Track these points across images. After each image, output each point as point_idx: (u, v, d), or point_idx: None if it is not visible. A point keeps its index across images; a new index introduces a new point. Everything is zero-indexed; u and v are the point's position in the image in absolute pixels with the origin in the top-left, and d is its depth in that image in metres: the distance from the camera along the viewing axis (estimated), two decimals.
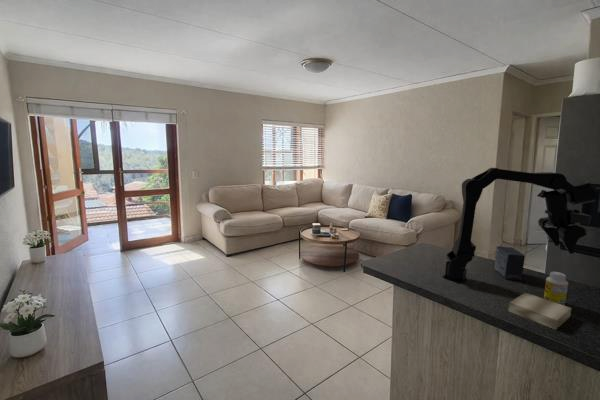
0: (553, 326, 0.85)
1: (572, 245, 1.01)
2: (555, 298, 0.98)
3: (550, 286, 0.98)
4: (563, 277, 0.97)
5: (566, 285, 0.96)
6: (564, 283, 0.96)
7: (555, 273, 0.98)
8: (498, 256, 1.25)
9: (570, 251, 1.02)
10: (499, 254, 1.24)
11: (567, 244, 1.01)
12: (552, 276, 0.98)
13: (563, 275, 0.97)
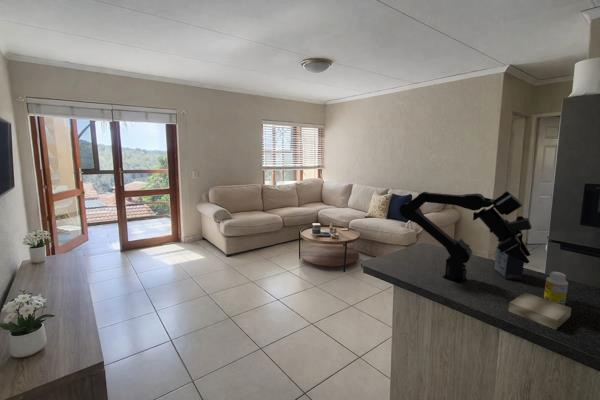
0: (553, 326, 0.85)
1: (521, 255, 1.00)
2: (555, 298, 0.98)
3: (550, 286, 0.98)
4: (563, 277, 0.97)
5: (566, 285, 0.96)
6: (564, 283, 0.96)
7: (555, 273, 0.98)
8: (498, 256, 1.25)
9: (524, 261, 1.00)
10: (499, 254, 1.24)
11: (515, 256, 1.00)
12: (552, 276, 0.98)
13: (563, 275, 0.97)
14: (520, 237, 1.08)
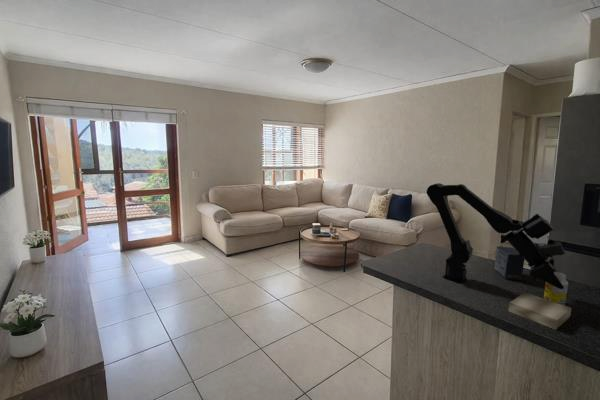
0: (553, 326, 0.85)
1: (554, 280, 0.96)
2: (555, 298, 0.98)
3: (550, 286, 0.98)
4: (563, 277, 0.97)
5: (566, 285, 0.96)
6: (564, 283, 0.96)
7: (555, 273, 0.98)
8: (498, 256, 1.25)
9: (558, 287, 0.96)
10: (499, 254, 1.24)
11: (548, 281, 0.97)
12: None
13: (563, 275, 0.97)
14: (551, 262, 1.02)
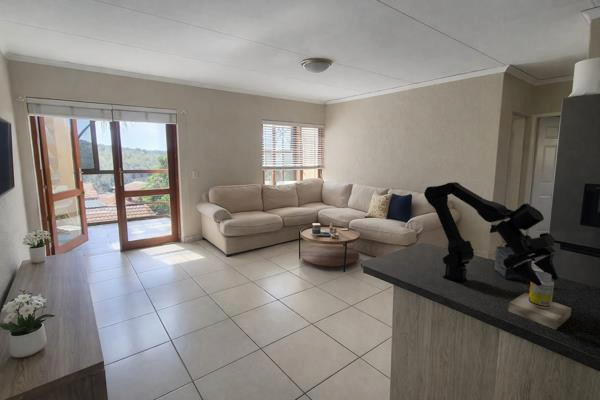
0: (553, 326, 0.85)
1: (531, 275, 0.89)
2: (535, 299, 0.91)
3: (531, 285, 0.92)
4: (545, 277, 0.89)
5: (548, 286, 0.89)
6: (545, 283, 0.89)
7: (539, 273, 0.91)
8: (498, 256, 1.25)
9: (535, 283, 0.89)
10: (499, 254, 1.24)
11: (524, 275, 0.90)
12: None
13: (547, 275, 0.90)
14: (548, 257, 0.94)
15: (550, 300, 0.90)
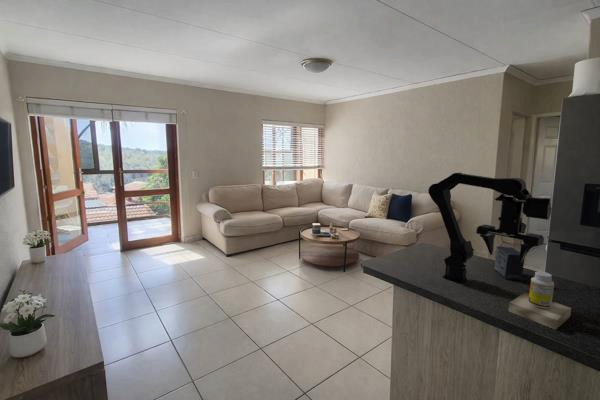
0: (553, 326, 0.85)
1: (525, 253, 1.00)
2: (535, 299, 0.91)
3: (531, 285, 0.92)
4: (546, 277, 0.89)
5: (548, 287, 0.89)
6: (546, 283, 0.89)
7: (539, 273, 0.91)
8: (498, 256, 1.25)
9: (522, 260, 1.00)
10: (499, 254, 1.24)
11: (525, 253, 0.99)
12: (535, 275, 0.92)
13: (547, 275, 0.90)
14: (494, 236, 1.09)
15: (550, 300, 0.90)
